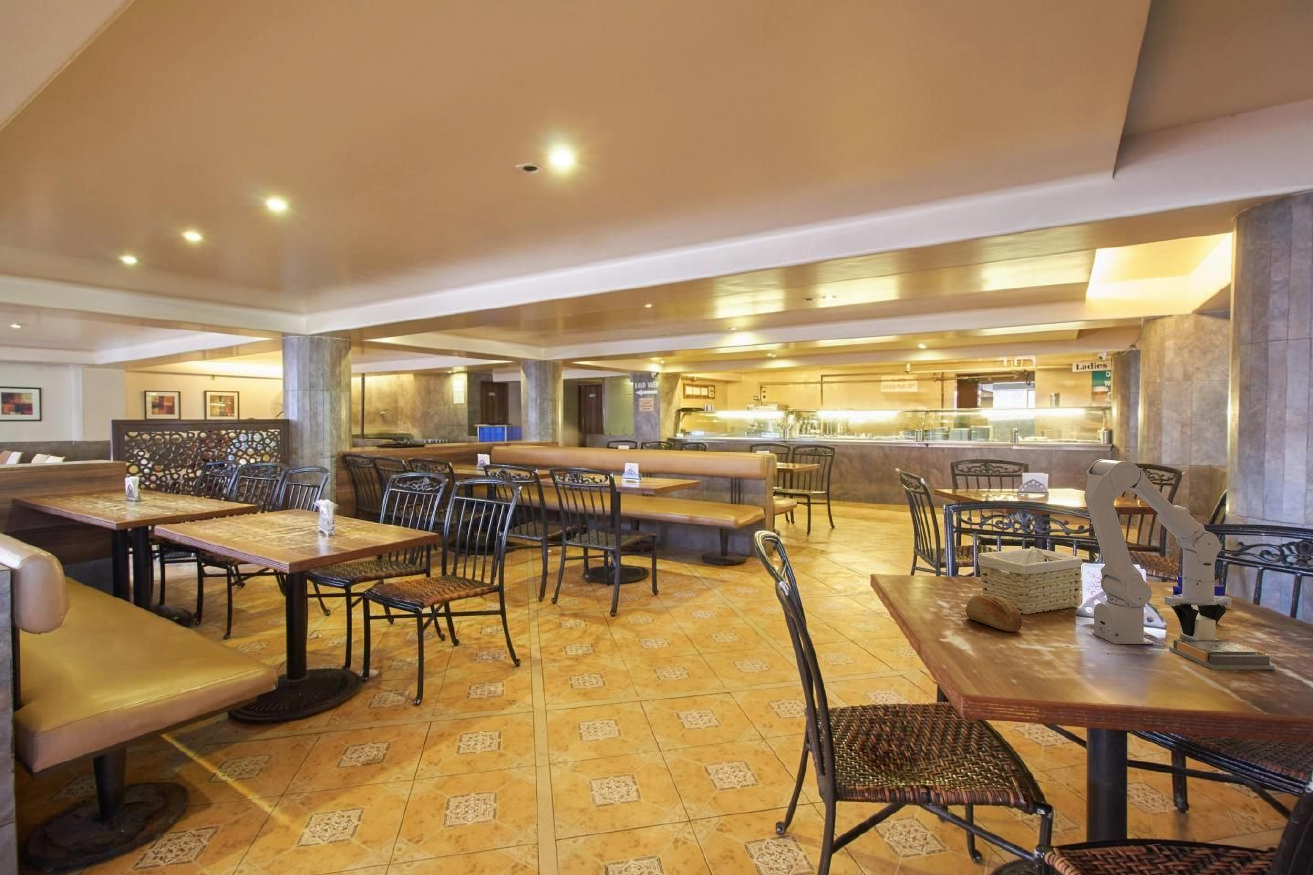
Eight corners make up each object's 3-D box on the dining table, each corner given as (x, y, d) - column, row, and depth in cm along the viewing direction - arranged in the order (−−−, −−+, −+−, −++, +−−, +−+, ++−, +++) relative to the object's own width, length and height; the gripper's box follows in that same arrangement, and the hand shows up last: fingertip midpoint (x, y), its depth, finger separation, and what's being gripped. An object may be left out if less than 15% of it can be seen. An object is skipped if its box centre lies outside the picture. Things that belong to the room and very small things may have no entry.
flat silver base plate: (1207, 656, 130) (1207, 651, 130) (1183, 645, 136) (1183, 641, 136) (1257, 655, 130) (1257, 651, 130) (1231, 645, 136) (1231, 641, 136)
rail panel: (1213, 669, 128) (1213, 656, 128) (1169, 650, 139) (1169, 638, 139) (1274, 669, 128) (1274, 656, 128) (1225, 649, 139) (1225, 638, 139)
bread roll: (1004, 637, 148) (1004, 605, 147) (954, 619, 162) (955, 590, 161) (1032, 632, 151) (1032, 601, 151) (981, 615, 165) (981, 586, 165)
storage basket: (1023, 617, 163) (1023, 563, 163) (974, 601, 179) (974, 552, 178) (1085, 608, 171) (1086, 557, 170) (1034, 593, 186) (1034, 546, 186)
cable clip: (1172, 595, 184) (1173, 576, 184) (1187, 595, 184) (1187, 575, 184) (1209, 607, 172) (1209, 586, 172) (1224, 606, 172) (1224, 586, 172)
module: (1198, 645, 142) (1198, 620, 141) (1180, 637, 147) (1180, 613, 146) (1215, 645, 142) (1215, 620, 141) (1196, 637, 147) (1196, 613, 146)
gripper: (1182, 583, 140) (1182, 640, 140) (1244, 583, 140) (1243, 640, 140) (1157, 576, 147) (1156, 630, 147) (1216, 575, 147) (1215, 630, 147)
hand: (1197, 634), depth 144 cm, fingers closed on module, 4 cm apart
